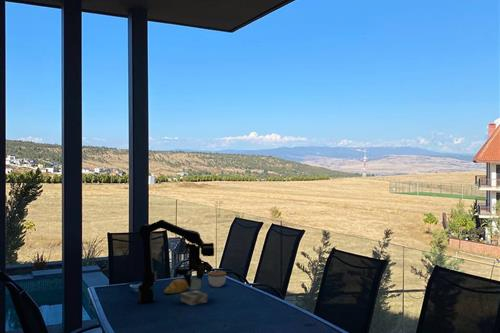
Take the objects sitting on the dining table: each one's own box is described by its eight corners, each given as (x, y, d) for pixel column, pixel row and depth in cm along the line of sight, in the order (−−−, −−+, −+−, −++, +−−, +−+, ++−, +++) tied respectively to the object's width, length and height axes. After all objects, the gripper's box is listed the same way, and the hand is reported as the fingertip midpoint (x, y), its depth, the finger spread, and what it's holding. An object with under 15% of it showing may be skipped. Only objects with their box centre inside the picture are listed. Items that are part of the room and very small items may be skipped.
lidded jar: (207, 284, 278) (207, 268, 278) (224, 283, 280) (225, 267, 280) (208, 288, 267) (209, 272, 268) (227, 287, 269) (227, 271, 269)
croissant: (168, 302, 252) (173, 290, 250) (156, 291, 256) (161, 279, 254) (193, 292, 270) (198, 281, 268) (181, 282, 274) (186, 271, 272)
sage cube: (192, 290, 237) (192, 280, 237) (187, 288, 241) (187, 278, 241) (200, 288, 240) (200, 278, 240) (195, 286, 244) (195, 277, 244)
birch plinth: (190, 305, 234) (190, 297, 234) (180, 300, 241) (180, 293, 241) (207, 302, 240) (207, 294, 240) (197, 297, 248) (197, 290, 248)
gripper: (186, 260, 229) (186, 292, 229) (217, 256, 240) (217, 286, 240) (175, 257, 237) (175, 287, 237) (206, 253, 249) (205, 282, 249)
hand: (193, 286), depth 241 cm, fingers closed on sage cube, 5 cm apart
